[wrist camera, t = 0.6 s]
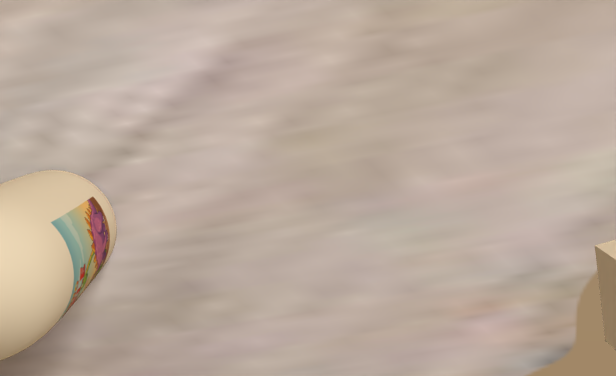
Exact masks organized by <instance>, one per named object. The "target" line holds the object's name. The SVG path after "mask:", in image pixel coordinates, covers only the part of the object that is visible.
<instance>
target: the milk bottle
mask: <svg viewBox="0 0 616 376" xmlns="http://www.w3.org/2000/svg"><path fill="white" fill-rule="evenodd" d="M116 233H117V226H116V219H115V215H114V212H113V209H112V207H111V205H110V203H109V201H108V199H107V198H106V197H105V195H104V194H103V193H102V192H101V190H99V189H98V188H97V187H96V186H95V185H94V184H93V183H91V182H90V181H88V180H87V179H85V178H83V177H81V176H79V175H76V174H73V173H70V172H66V171H59V170H46V171H39V172H35V173H31V174H27V175H24V176H22V177H19V178H16V179H13V180H10V181H7V182H5V183H2V184H0V360H3V359H6V358H8V357H11V356H13V355H15V354H17V353H19V352H20V351H22V350H24V349H26V348H28V347H29V346H31V345H32V344H33V343H35V342H36V341H37V340H39V339H40V338H41V337H43V336H44V335H45V334H46V333H47V332H48V331H49V330H50V329H51V328H52V327H53V326H54V325H55V324H56V323H57V322H58V321H59V320H60V319H61V318H62V317H63V315H64V314H65V313H66V312H67V311H68V310H69V308H70V307H71V306H72V305H73V304H74V302H75V301H76V300H77V299H78V297H79V296H80V295H81V294H82V293H83V291H84V290H85V289H86V288H87V286H88V285H89V284H90V283H91V281H92V280H93V279H94V278H95V276H96V275H97V274H98V272H99V271H100V270H101V269H102V267H103V266H104V264H105V263H106V262H107V260H108V258H109V257H110V255H111V253H112V251H113V248H114V245H115V241H116Z"/></svg>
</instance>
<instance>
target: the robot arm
mask: <svg viewBox="0 0 616 376" xmlns="http://www.w3.org/2000/svg"><path fill="white" fill-rule="evenodd" d="M595 252H596V261H597V270H598V279H599V289H600V298H601V307H602V315H603V325H604V335H605V341H606V342H607V343H608V344H609V345H610V346H611V347H612V348H613V349H615V350H616V240H613V241H610V242H606V243H602V244H599V245H595Z"/></svg>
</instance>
